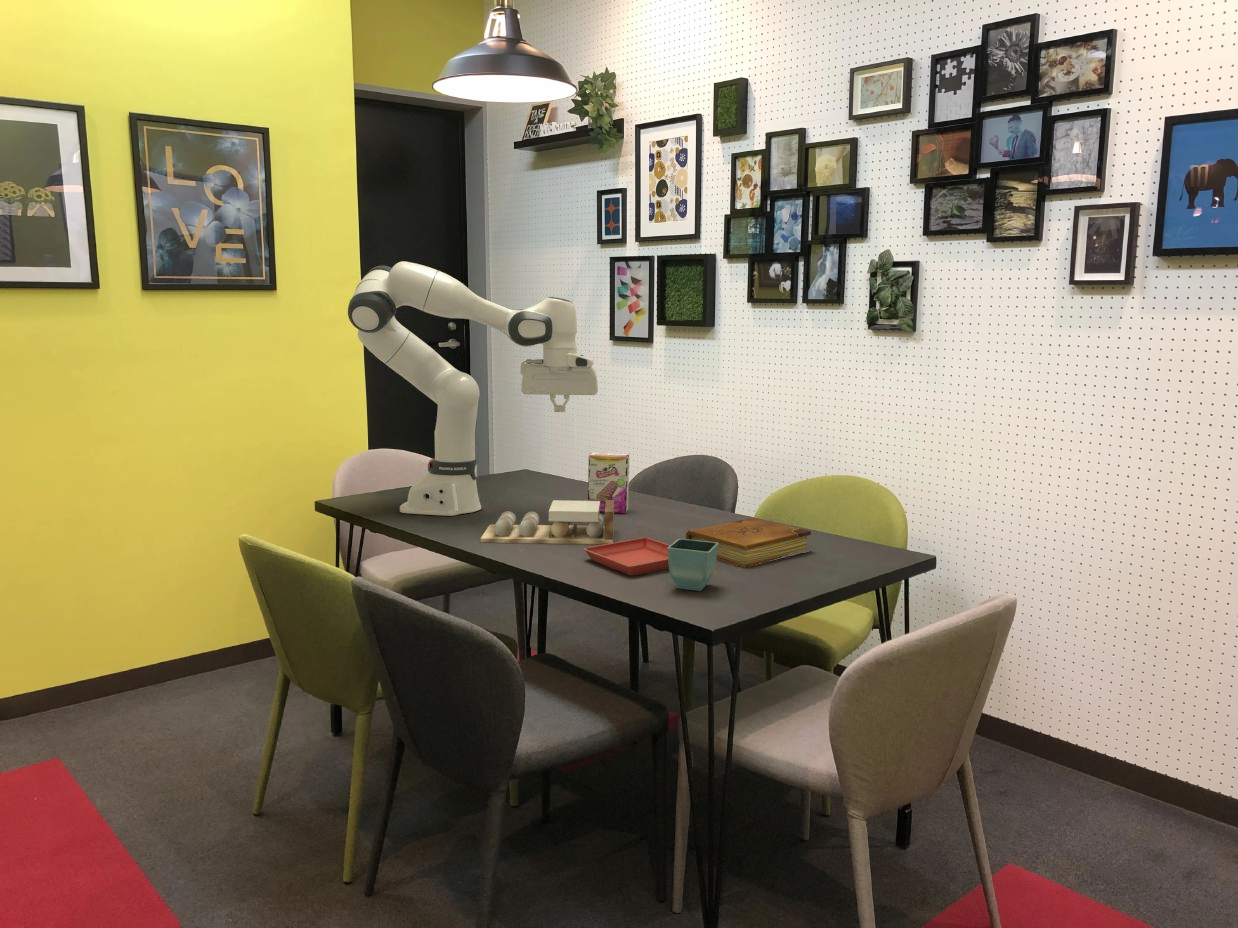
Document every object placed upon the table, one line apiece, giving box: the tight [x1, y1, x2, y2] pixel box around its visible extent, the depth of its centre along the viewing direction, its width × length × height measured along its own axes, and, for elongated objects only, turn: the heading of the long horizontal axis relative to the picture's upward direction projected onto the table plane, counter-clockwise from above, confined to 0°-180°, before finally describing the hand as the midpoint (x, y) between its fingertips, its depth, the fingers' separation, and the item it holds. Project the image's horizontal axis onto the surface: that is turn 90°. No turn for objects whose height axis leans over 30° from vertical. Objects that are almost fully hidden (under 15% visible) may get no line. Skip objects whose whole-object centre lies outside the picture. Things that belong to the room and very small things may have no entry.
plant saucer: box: [583, 537, 671, 576], centre depth 208 cm, size 18×18×3 cm
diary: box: [685, 517, 812, 569], centre depth 220 cm, size 23×19×6 cm
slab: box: [548, 499, 601, 523], centre depth 231 cm, size 12×13×2 cm
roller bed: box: [480, 500, 615, 545], centre depth 232 cm, size 32×15×8 cm, turn 89°
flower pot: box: [667, 538, 719, 592], centre depth 190 cm, size 9×9×9 cm
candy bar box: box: [587, 452, 630, 514], centre depth 261 cm, size 11×5×16 cm, turn 84°
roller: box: [551, 521, 572, 538], centre depth 232 cm, size 4×11×4 cm, turn 179°
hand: (559, 411), depth 248 cm, fingers closed
